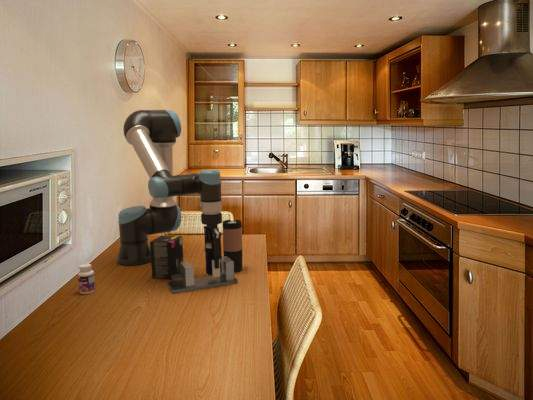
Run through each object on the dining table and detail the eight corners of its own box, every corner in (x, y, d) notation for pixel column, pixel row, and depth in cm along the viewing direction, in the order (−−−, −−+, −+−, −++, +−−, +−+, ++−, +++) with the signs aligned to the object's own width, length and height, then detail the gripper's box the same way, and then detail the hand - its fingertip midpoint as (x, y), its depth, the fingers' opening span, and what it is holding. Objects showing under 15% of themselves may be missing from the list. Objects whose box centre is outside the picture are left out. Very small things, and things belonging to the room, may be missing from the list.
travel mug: (231, 274, 182) (230, 224, 179) (220, 270, 187) (218, 221, 184) (246, 270, 187) (245, 221, 184) (235, 266, 192) (233, 218, 189)
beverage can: (218, 271, 176) (217, 240, 174) (223, 275, 171) (222, 244, 169) (204, 273, 174) (203, 242, 172) (208, 278, 169) (207, 246, 167)
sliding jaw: (170, 282, 170) (169, 263, 169) (188, 279, 173) (188, 261, 172) (174, 288, 163) (173, 269, 162) (194, 285, 166) (193, 266, 164)
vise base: (167, 285, 171) (165, 263, 170) (228, 275, 180) (228, 255, 179) (172, 293, 162) (171, 271, 160) (237, 283, 171) (237, 261, 170)
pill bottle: (75, 293, 164) (73, 266, 163) (86, 288, 169) (84, 262, 167) (88, 295, 162) (85, 268, 161) (98, 290, 167) (96, 263, 166)
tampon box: (174, 279, 177) (172, 242, 174) (151, 278, 179) (149, 241, 176) (184, 270, 187) (182, 235, 185) (163, 269, 189) (161, 234, 187)
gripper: (194, 209, 176) (197, 268, 179) (208, 218, 159) (211, 283, 162) (213, 207, 179) (216, 265, 182) (229, 215, 162) (231, 279, 165)
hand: (213, 273), depth 172 cm, fingers closed on beverage can, 6 cm apart
